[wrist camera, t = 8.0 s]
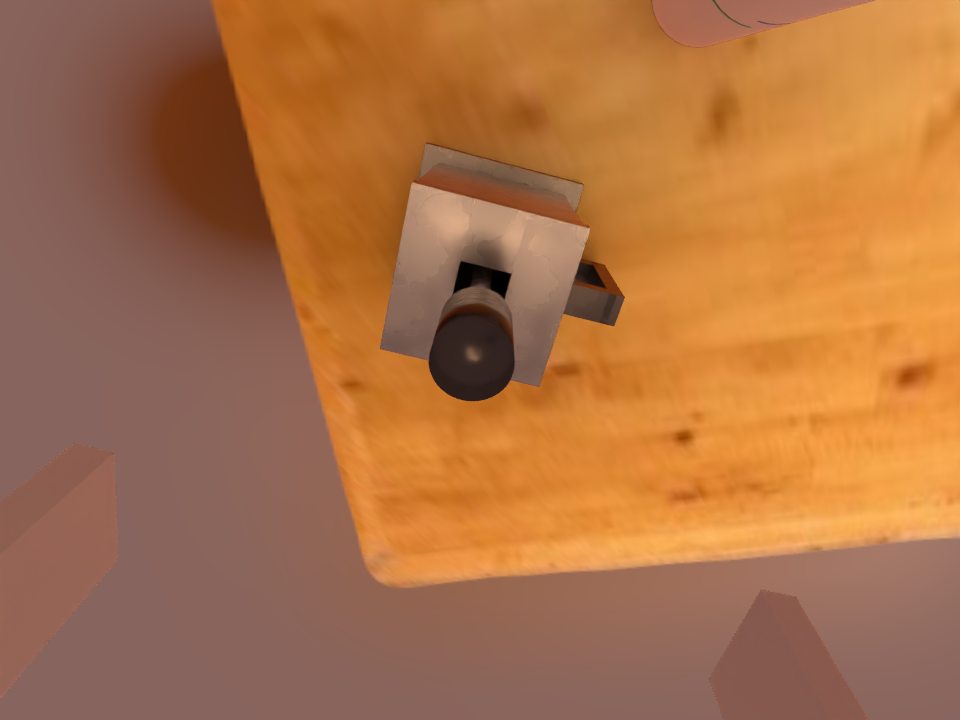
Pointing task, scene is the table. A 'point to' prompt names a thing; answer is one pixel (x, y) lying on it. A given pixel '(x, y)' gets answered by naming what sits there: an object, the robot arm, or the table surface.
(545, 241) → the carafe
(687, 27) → the cylindrical container
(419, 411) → the table surface
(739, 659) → the robot arm
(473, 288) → the plunger
